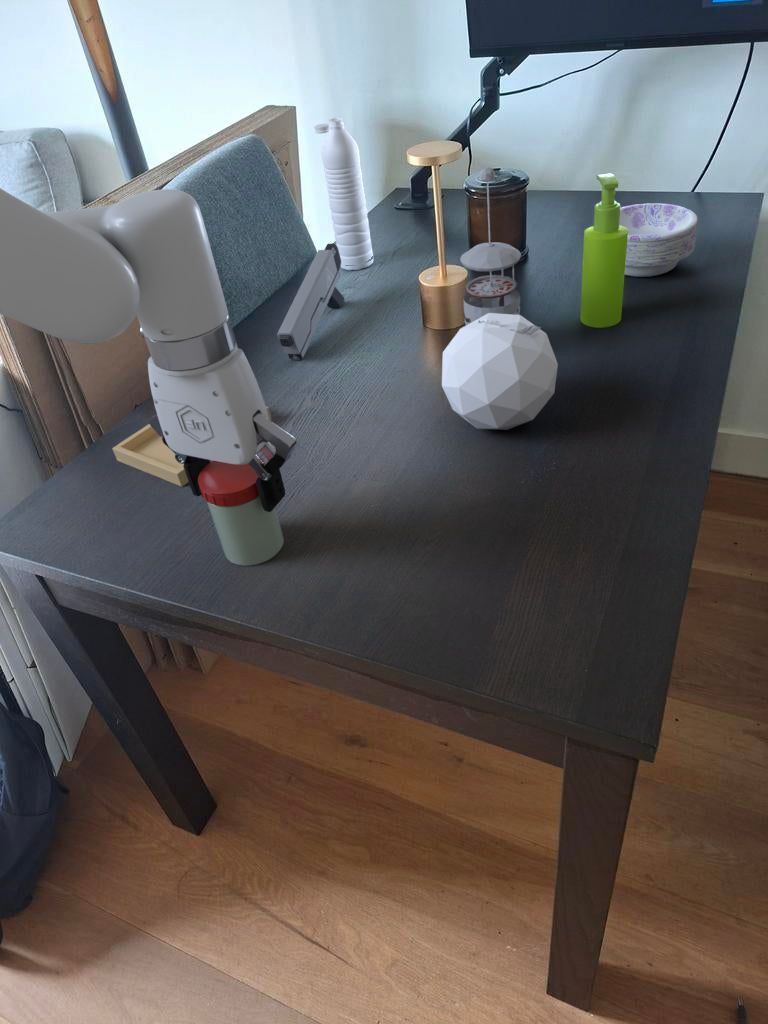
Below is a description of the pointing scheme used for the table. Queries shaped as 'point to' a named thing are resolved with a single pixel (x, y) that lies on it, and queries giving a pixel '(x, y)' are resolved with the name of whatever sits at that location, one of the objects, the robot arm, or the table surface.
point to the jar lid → (228, 483)
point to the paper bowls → (657, 237)
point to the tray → (153, 455)
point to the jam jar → (247, 532)
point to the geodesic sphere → (499, 371)
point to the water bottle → (346, 195)
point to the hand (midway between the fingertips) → (239, 495)
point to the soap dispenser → (604, 261)
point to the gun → (311, 302)
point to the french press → (491, 286)
